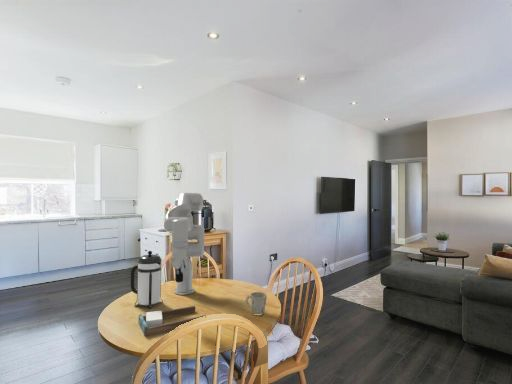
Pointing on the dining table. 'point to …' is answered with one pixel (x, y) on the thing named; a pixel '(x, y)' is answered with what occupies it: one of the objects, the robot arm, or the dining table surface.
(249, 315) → the dining table surface
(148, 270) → the coffee press
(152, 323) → the silver block
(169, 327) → the bay
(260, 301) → the mug
